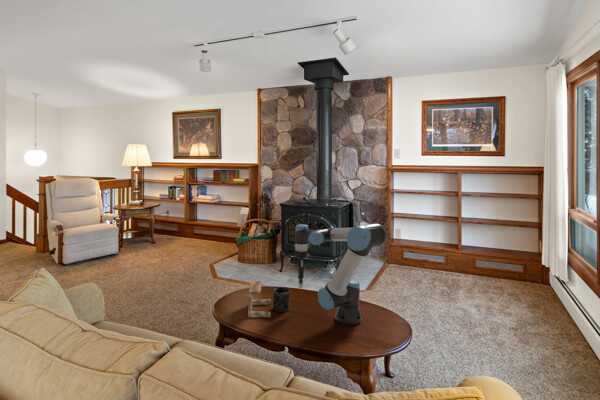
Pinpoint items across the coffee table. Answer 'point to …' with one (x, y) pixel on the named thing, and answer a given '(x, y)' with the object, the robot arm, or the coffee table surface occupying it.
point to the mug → (281, 299)
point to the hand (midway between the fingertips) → (300, 288)
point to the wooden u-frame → (256, 289)
